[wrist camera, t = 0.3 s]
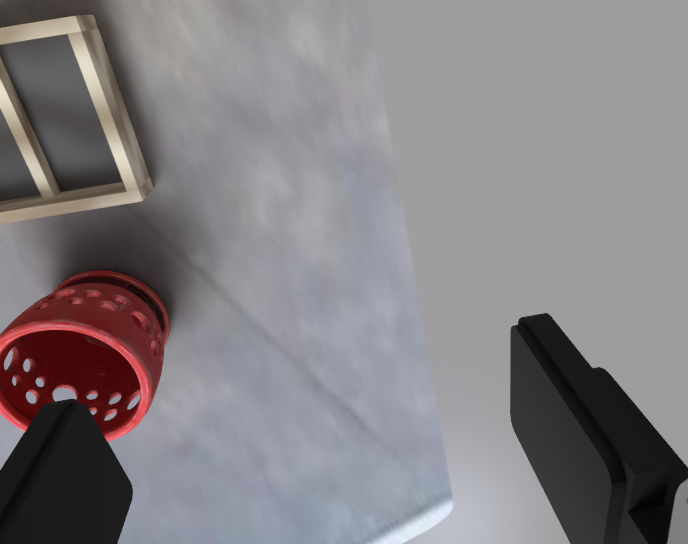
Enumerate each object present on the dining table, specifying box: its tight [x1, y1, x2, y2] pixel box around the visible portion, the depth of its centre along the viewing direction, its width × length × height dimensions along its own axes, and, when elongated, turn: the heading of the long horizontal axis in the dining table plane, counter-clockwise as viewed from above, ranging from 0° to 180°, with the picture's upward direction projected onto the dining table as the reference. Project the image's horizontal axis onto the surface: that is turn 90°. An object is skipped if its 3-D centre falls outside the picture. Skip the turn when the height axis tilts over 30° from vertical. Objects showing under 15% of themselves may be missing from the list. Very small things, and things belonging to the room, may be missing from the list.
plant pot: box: [0, 270, 170, 442], centre depth 45 cm, size 13×13×12 cm
